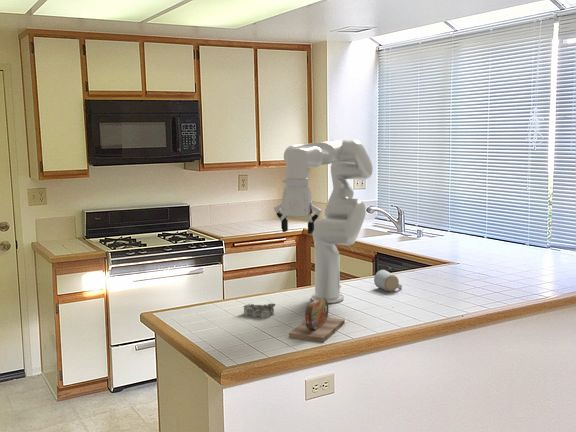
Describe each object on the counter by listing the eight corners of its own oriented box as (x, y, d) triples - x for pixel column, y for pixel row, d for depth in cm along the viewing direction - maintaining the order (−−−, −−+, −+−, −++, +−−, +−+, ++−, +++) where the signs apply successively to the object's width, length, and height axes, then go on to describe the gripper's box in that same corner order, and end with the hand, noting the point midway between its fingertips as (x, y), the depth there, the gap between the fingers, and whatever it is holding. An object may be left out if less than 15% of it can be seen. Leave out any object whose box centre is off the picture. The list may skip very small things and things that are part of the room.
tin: (312, 333, 203) (312, 307, 202) (303, 331, 205) (303, 306, 203) (329, 319, 217) (329, 295, 216) (320, 318, 218) (320, 294, 217)
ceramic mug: (385, 293, 254) (385, 274, 253) (373, 288, 261) (373, 270, 260) (406, 290, 259) (407, 272, 258) (394, 285, 266) (394, 268, 265)
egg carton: (276, 314, 229) (276, 303, 229) (265, 320, 223) (265, 309, 222) (252, 310, 235) (252, 299, 234) (240, 315, 229) (240, 304, 228)
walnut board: (312, 319, 222) (312, 315, 222) (344, 323, 217) (344, 319, 217) (288, 337, 204) (288, 332, 204) (323, 342, 199) (323, 337, 199)
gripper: (269, 183, 219) (270, 232, 222) (316, 185, 212) (316, 235, 215) (279, 181, 226) (279, 229, 229) (324, 183, 219) (324, 232, 222)
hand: (297, 232), depth 222 cm, fingers open, 9 cm apart
